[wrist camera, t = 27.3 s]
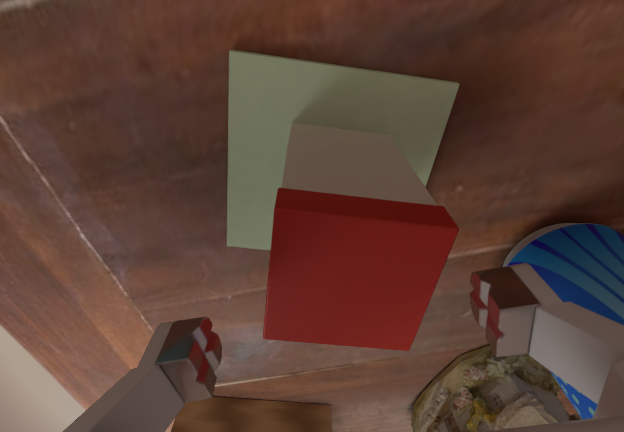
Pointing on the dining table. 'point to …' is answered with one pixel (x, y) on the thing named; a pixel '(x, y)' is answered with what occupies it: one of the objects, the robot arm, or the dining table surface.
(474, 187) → the dining table surface
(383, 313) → the container
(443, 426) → the ceramic model
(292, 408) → the block
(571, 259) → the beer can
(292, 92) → the mat
